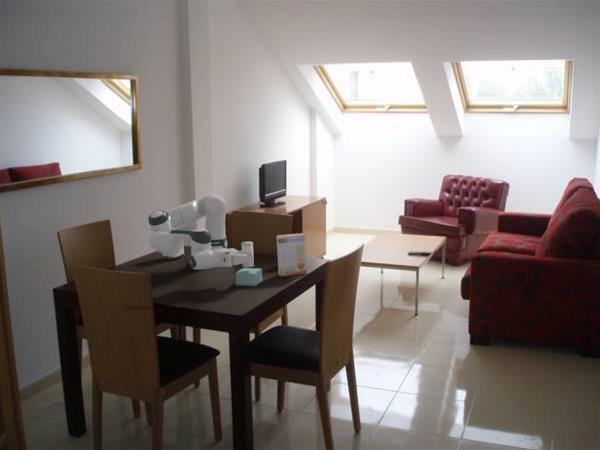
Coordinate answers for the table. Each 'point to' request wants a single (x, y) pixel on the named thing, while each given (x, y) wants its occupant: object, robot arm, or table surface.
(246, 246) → the canister
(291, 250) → the cracker box
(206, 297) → the table surface
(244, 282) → the plinth
